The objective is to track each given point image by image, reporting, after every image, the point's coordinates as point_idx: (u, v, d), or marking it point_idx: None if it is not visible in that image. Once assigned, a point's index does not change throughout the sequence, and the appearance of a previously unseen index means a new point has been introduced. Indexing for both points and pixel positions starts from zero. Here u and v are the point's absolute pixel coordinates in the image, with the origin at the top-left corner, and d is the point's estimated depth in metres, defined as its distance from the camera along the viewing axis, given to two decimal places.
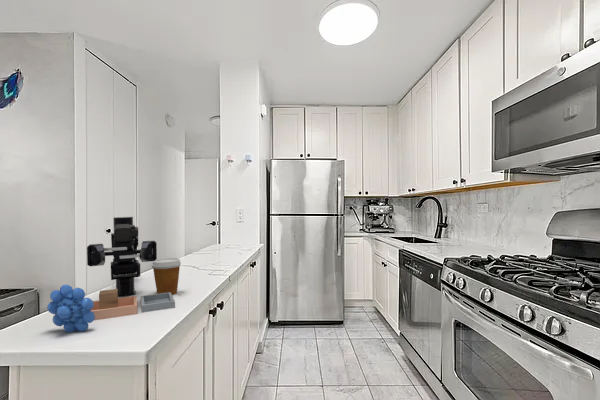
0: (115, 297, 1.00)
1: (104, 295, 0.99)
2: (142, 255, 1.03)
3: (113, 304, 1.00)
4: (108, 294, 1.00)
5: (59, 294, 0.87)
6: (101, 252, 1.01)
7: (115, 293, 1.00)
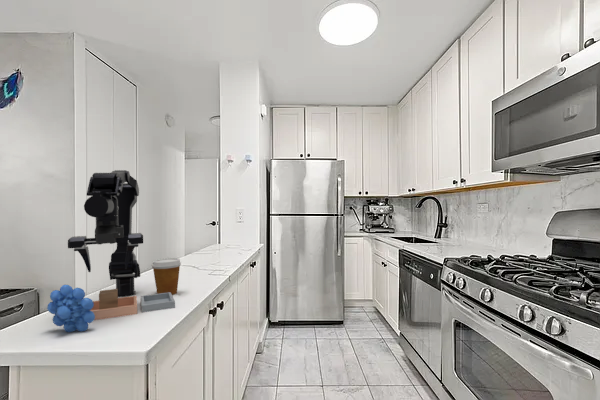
0: (115, 297, 1.00)
1: (104, 295, 0.99)
2: (128, 264, 1.04)
3: (113, 304, 1.00)
4: (108, 294, 1.00)
5: (59, 294, 0.87)
6: (85, 259, 0.98)
7: (115, 293, 1.00)
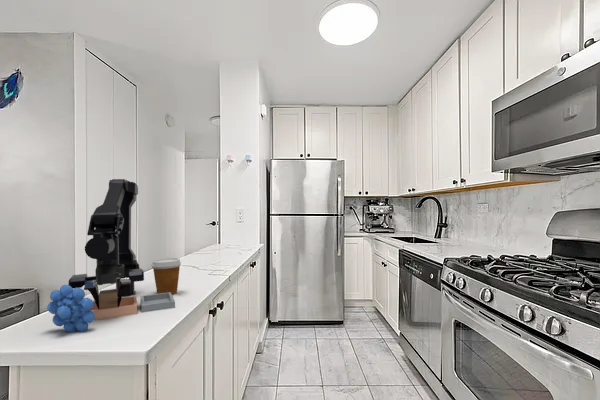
0: (115, 297, 1.00)
1: (104, 295, 0.99)
2: None
3: (113, 304, 1.00)
4: (108, 294, 1.00)
5: (59, 294, 0.87)
6: (95, 297, 0.99)
7: (115, 293, 1.00)
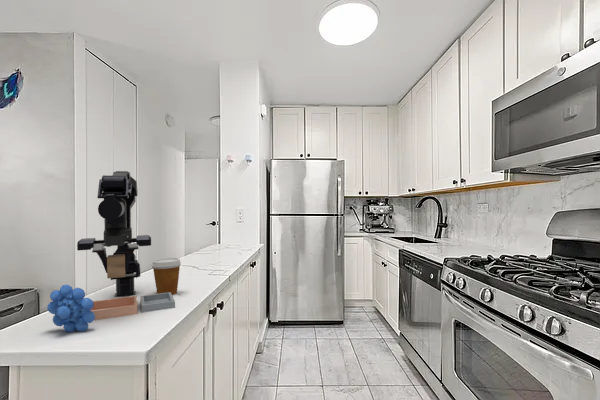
0: (123, 261, 1.01)
1: (111, 259, 1.00)
2: (128, 266, 1.04)
3: (121, 268, 1.01)
4: (116, 257, 1.01)
5: (59, 294, 0.87)
6: (103, 260, 1.00)
7: (123, 257, 1.01)
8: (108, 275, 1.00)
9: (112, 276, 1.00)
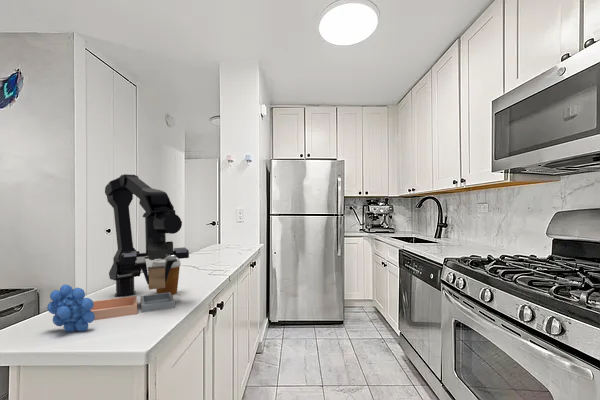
0: (163, 273, 1.07)
1: (153, 271, 1.06)
2: (166, 277, 1.10)
3: (161, 279, 1.07)
4: (157, 270, 1.06)
5: (59, 294, 0.87)
6: (144, 272, 1.06)
7: (163, 269, 1.07)
8: (150, 286, 1.05)
9: (153, 287, 1.06)
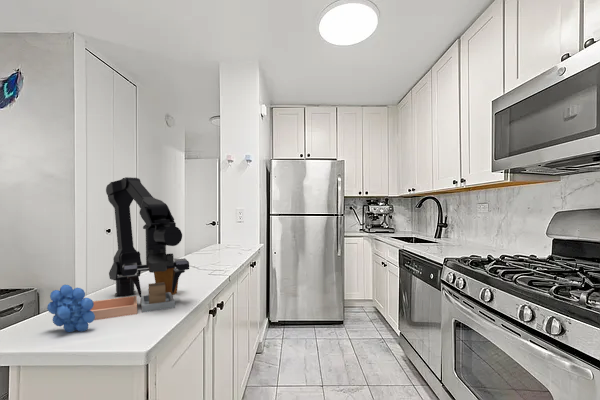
0: (163, 290, 1.07)
1: (153, 288, 1.06)
2: (174, 288, 1.10)
3: (162, 296, 1.07)
4: (157, 287, 1.06)
5: (59, 294, 0.87)
6: (137, 285, 1.05)
7: (163, 286, 1.07)
8: None
9: None
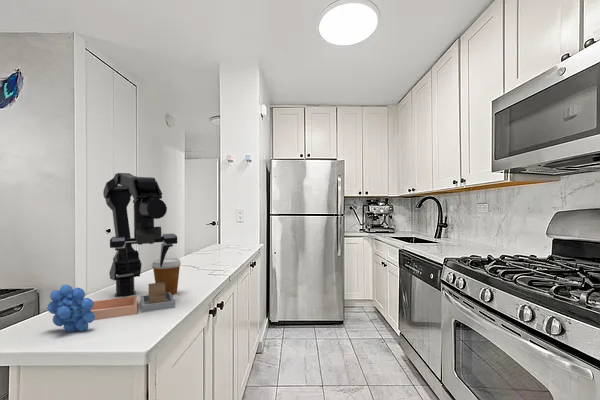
0: (163, 290, 1.07)
1: (153, 288, 1.06)
2: (162, 262, 1.11)
3: (162, 296, 1.07)
4: (157, 287, 1.06)
5: (59, 294, 0.87)
6: (125, 257, 1.05)
7: (163, 286, 1.07)
8: None
9: None
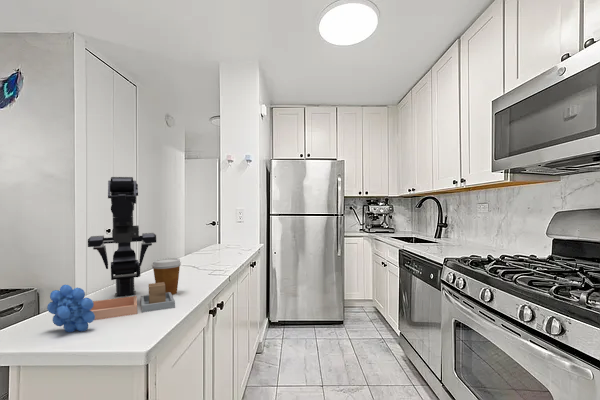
0: (163, 290, 1.07)
1: (153, 288, 1.06)
2: None
3: (162, 296, 1.07)
4: (157, 287, 1.06)
5: (59, 294, 0.87)
6: (103, 256, 1.06)
7: (163, 286, 1.07)
8: None
9: None
